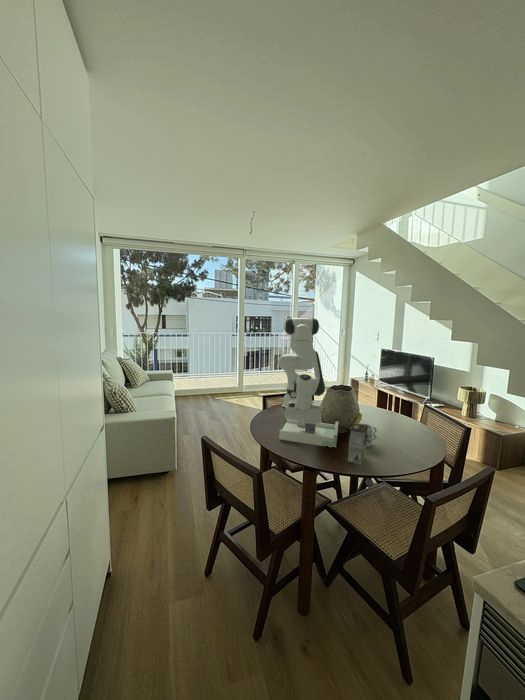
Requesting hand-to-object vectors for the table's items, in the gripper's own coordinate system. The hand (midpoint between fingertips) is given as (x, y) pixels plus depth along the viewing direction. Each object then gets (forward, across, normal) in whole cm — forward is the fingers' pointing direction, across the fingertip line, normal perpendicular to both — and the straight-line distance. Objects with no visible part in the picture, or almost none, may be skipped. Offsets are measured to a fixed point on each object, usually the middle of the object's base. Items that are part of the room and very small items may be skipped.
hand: (302, 428), depth 170 cm
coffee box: (+5, -29, +18) cm, 35 cm away
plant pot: (+4, -27, -22) cm, 35 cm away
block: (+1, -4, 0) cm, 5 cm away
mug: (+5, -34, -2) cm, 35 cm away
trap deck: (+4, -4, 0) cm, 6 cm away
